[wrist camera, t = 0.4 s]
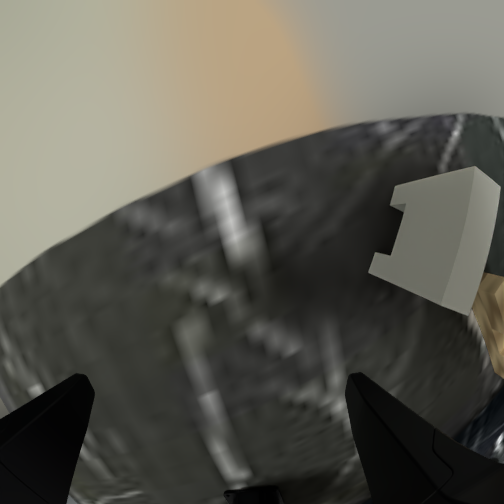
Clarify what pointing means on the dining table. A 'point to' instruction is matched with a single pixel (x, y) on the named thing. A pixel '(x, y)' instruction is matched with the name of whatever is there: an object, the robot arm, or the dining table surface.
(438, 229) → the grey tapered block
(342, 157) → the dining table surface
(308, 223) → the dining table surface
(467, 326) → the dining table surface
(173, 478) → the dining table surface
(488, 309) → the notched base plate
